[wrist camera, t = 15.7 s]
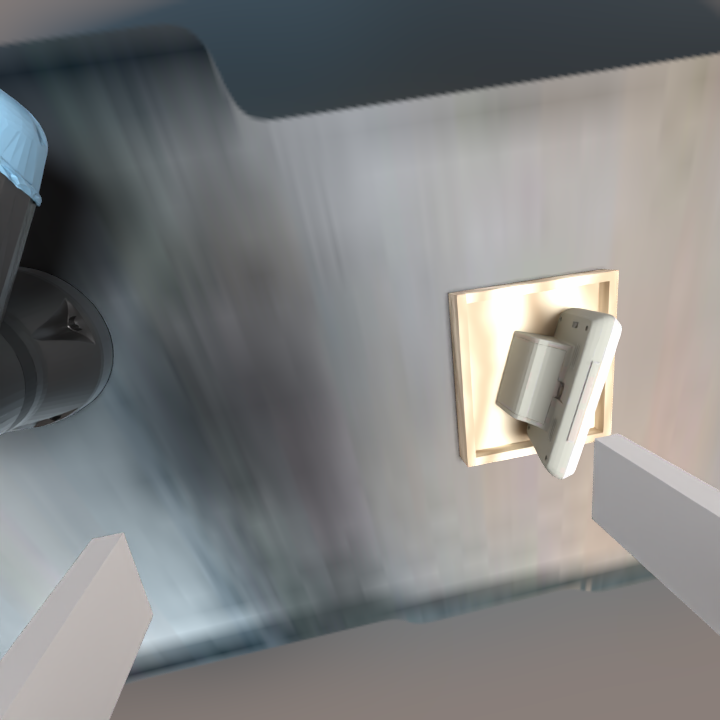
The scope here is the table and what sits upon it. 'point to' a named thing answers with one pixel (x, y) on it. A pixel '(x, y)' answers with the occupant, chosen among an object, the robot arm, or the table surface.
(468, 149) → the table surface
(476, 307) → the birch tray
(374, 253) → the table surface
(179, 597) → the table surface
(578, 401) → the digital clock
